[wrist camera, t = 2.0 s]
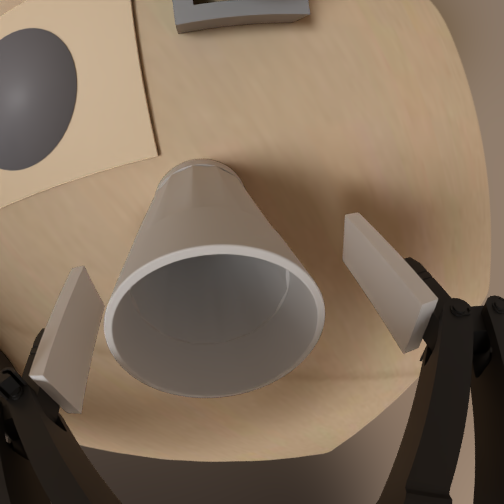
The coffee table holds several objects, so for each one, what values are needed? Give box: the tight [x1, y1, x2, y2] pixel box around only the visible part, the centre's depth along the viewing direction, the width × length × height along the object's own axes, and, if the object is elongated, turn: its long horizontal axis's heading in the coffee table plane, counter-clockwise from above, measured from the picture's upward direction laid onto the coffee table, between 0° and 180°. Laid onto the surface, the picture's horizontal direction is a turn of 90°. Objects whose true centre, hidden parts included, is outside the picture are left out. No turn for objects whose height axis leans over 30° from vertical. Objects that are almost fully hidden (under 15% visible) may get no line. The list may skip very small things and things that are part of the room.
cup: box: [104, 159, 325, 398], centre depth 15 cm, size 8×8×12 cm
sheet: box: [0, 0, 158, 208], centre depth 13 cm, size 18×14×1 cm
